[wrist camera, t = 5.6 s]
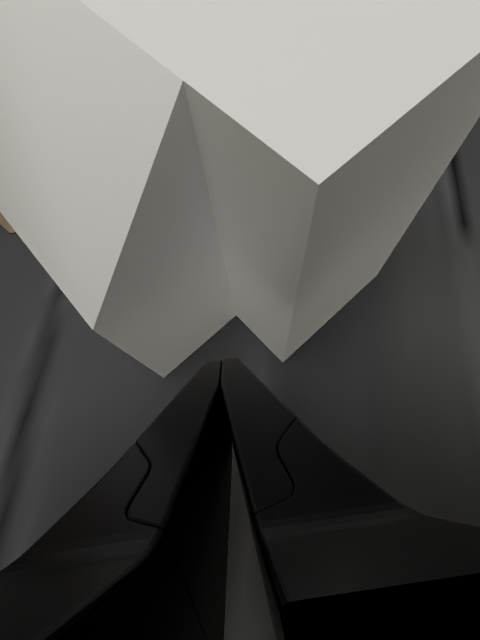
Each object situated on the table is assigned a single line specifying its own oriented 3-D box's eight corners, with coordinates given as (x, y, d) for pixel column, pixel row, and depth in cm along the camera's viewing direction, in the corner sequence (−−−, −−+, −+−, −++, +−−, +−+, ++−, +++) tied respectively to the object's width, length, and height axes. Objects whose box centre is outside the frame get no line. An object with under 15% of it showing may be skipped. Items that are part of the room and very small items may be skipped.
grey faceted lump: (376, 275, 18) (568, -21, 6) (208, 431, 16) (62, 396, 4) (237, 161, 21) (204, -171, 10) (83, 279, 19) (-188, 32, 8)
